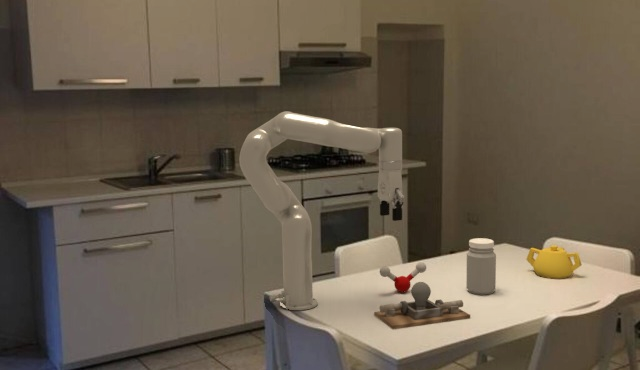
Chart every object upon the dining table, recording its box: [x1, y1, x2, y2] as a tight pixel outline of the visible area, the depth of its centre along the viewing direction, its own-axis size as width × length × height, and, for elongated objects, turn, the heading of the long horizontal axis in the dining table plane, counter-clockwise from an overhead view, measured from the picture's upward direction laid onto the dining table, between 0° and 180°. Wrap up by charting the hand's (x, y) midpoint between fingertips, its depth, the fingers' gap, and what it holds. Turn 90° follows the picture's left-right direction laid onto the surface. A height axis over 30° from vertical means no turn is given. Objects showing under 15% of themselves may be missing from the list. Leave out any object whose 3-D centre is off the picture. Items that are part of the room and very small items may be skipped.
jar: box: [465, 237, 497, 296], centre depth 245 cm, size 10×10×18 cm
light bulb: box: [410, 281, 432, 310], centre depth 220 cm, size 6×6×10 cm
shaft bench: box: [373, 299, 471, 330], centre depth 221 cm, size 26×14×5 cm, turn 109°
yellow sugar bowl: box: [526, 244, 582, 280], centre depth 267 cm, size 20×18×11 cm
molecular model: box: [379, 261, 427, 293], centre depth 247 cm, size 18×6×10 cm, turn 117°
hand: (390, 217), depth 234 cm, fingers open, 9 cm apart
